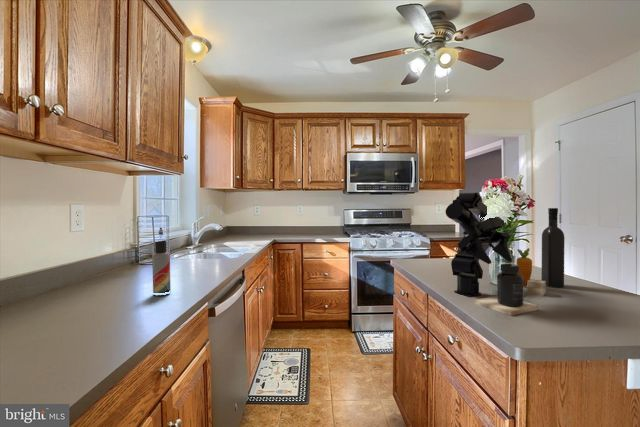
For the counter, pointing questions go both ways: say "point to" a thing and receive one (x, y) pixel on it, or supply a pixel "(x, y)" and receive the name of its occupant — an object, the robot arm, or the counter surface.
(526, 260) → the carrot
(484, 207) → the robot arm
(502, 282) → the supplement bottle
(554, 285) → the wine bottle
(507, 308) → the maple board
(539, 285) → the oak block
